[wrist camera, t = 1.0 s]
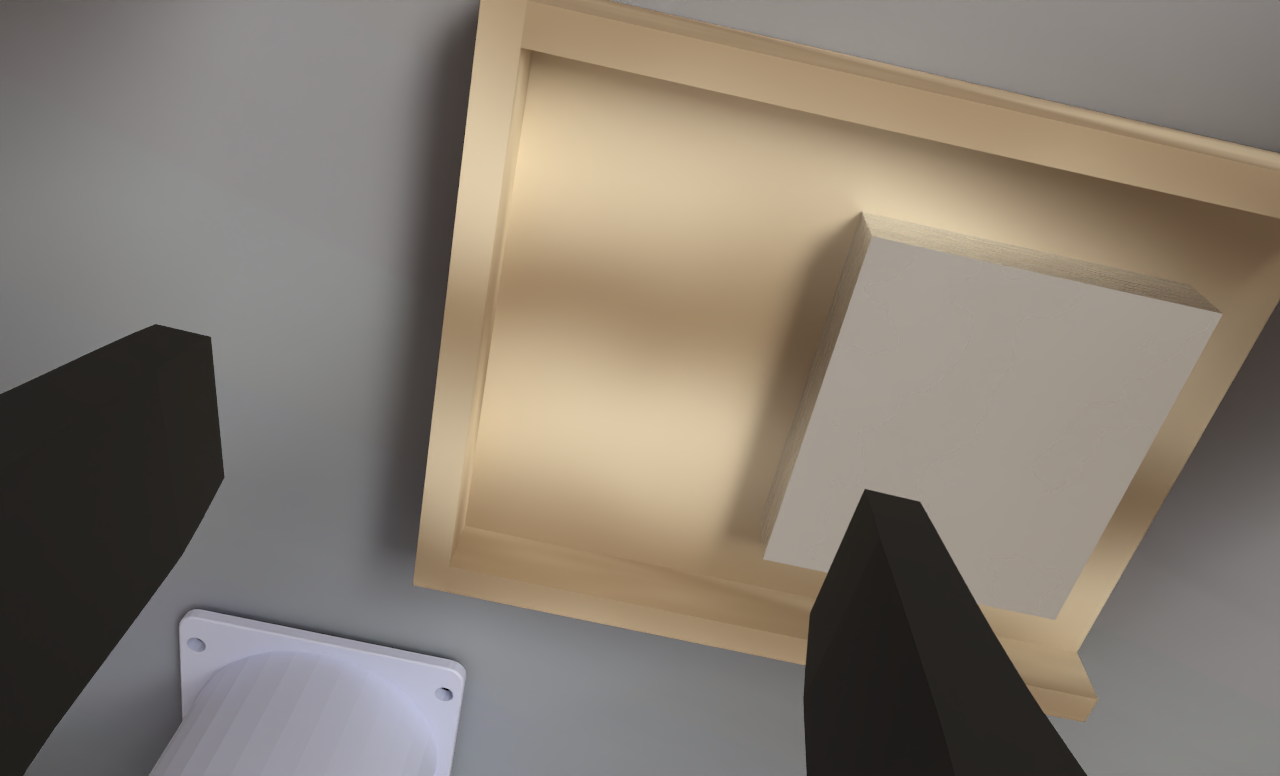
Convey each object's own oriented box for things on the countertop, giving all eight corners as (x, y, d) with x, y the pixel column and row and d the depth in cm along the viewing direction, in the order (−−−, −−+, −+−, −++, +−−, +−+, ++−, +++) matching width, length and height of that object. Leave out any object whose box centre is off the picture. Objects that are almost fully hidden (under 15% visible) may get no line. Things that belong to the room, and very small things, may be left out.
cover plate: (1036, 578, 24) (1055, 620, 23) (760, 520, 24) (762, 559, 22) (1189, 284, 20) (1222, 314, 19) (861, 211, 20) (871, 236, 18)
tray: (1056, 658, 26) (1084, 722, 24) (436, 529, 25) (412, 585, 23) (1334, 166, 19) (1403, 198, 17) (505, -23, 19) (481, -11, 17)
